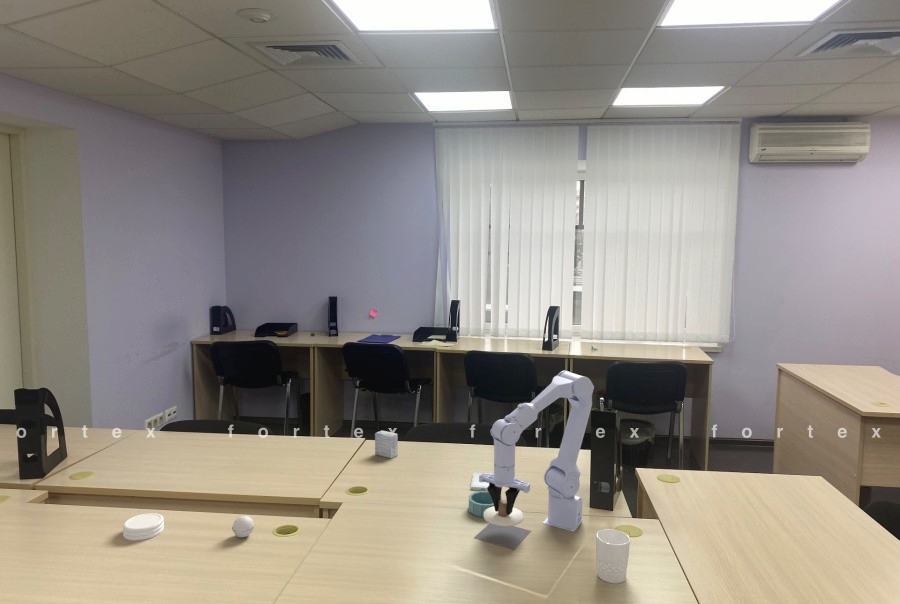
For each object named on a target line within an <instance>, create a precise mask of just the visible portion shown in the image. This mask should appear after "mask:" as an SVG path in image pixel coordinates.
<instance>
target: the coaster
mask: <svg viewBox="0 0 900 604" xmlns="http://www.w3.org/2000/svg"><path fill="white" fill-rule="evenodd" d="M164 520H165V518H164V516H163V515H162V514H159V513H156V512H154V513H153V512H147V513H141V514H138V515H135V516H131V517H130V518H129V519H127V520H126V521H125V522H124V523H123V525H122V532H123V533H122V535H123V538H124V539H125V540H127V541H131V542H133V541H134V542H136V541H145V540H149V539H151V538H154V537H156V536H159V535H160V534H161V533H162V532H163V531H164V530H165V529H164V528H165V521H164Z"/></svg>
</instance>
